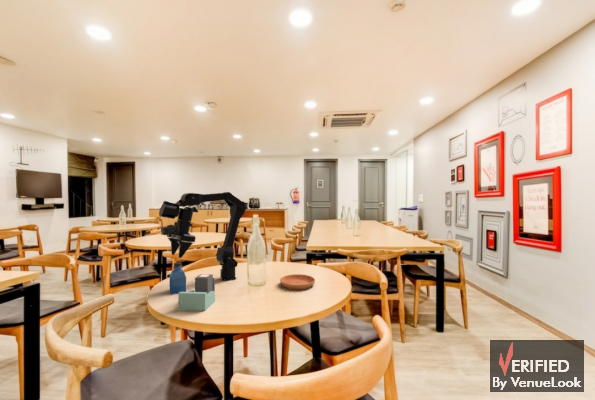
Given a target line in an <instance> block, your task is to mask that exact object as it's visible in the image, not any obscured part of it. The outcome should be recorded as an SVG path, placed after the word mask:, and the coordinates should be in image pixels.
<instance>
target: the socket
mask: <svg viewBox="0 0 595 400" xmlns="http://www.w3.org/2000/svg"><path fill="white" fill-rule="evenodd" d="M177 294H178V295H177V297H178V298H177V301H178V302H177V304H178V306H177V307H178V308H177V310H178V311H192V312H193V311H194V312H195V311H197V312H198V311H200V312H205V311H207V310H208V309H209V308H210V307H211V306H212V305H213V304H214V303H215V302H216V297H215V296H216V295H215V294H216V290H215V291H210V292H209V293H208V294H207V292H195V290H188V291H186V292H179V293H177Z"/></svg>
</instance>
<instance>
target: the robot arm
mask: <svg viewBox="0 0 595 400" xmlns="http://www.w3.org/2000/svg"><path fill="white" fill-rule="evenodd" d="M217 201H218V202H219V201H223V202H225V204H226V205H227V206H228V207H229V215H230V217H229V223H228V226H227V230H226V233H225V236H224V241H223V244H222V245H221V247H217V252H216V254H215V256H216V260H217V262H218V263H219V265H220V266H221V269H220V270H219V271H220V272H219V273H220V275H219V276H220V277H219V278H220V279H221V280H222V281H223V282H224V281H229V280H230V281H231V280H237V277H236V268H237V267H238V263H239V262H238V261H237V260H236V259H235V258H234V253H235V252H234V244H235V239H236V236H237V231H238V229H239V228H238V227H239V224H240V221H241V218H243V216H244V214H245V213H246V210H247V204H246V203H245V201H242V200H241V199H240V198H238V197H236V196H235V195H233V194H232V192H230V191H224V192H218V193H205V194H202V193H195V192H188V193H187V192H186V193H183V194H182V195H181V196H180V199H179V200H178V201H176V202H175V203H174V202H169V201H166V200H164V201H163V202H162V204H161V205H160V208H159V212H158V216H159V217H160V218H166V219H175V218H177V220H176V221H174V223H173V224H167V225H164V226H161V227H160V232H161V233H160V234H161V236H166V237H167V239H168V241H169V242H170V249H171V250H170V251H171V253H170V254H171V255H172V256H174V255H175V254H176V252H177V251H178V258H179V259H181V258H182V259H183V256H184V255H185V254H186V252H187V251H188V250H189V249H190V247H191V246H192V245H194V243H195V242H196V239H197V238H196V236H195V235H192V234H191V233H190V227H193V223H192V219H193V216H194V215H193V214H194V213H199V210H198V209H197V207H196V206H197V205H200V204H202V203H207V202H210V203H211V202H217ZM192 206H193V207H192ZM181 207H182V208H181Z"/></svg>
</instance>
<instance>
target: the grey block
mask: <svg viewBox="0 0 595 400" xmlns="http://www.w3.org/2000/svg"><path fill="white" fill-rule="evenodd" d="M215 279H216V278H215V277H214V274H209V273H208V274H207V273H206V274H205V273H204V274H203V273H202V274H198V275H197V276H196V277H194V292H207V294H208V293H209V292H210V291H215V292H216V289H215V288H216V286H215V285H216V284H215V281H216V280H215Z"/></svg>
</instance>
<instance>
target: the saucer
mask: <svg viewBox="0 0 595 400" xmlns="http://www.w3.org/2000/svg"><path fill="white" fill-rule="evenodd" d="M279 281H280V284H281V285H282V286H283V287H284V288H286V289H289V290H295V291H296V290H297V291H299V290H307V289H309V288H311V287H312V286H313V285H314V284H315V282H316V279H315V277H314V276H311V275H307V274H301V273H299V274H298V273H296V274H287V275H285V276H281V277H280V280H279Z"/></svg>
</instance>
